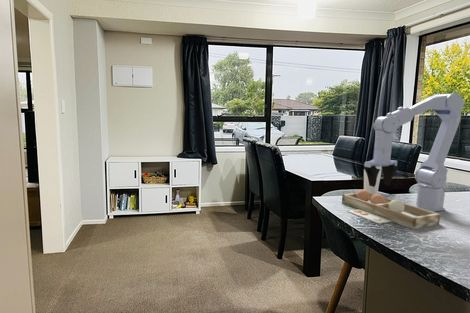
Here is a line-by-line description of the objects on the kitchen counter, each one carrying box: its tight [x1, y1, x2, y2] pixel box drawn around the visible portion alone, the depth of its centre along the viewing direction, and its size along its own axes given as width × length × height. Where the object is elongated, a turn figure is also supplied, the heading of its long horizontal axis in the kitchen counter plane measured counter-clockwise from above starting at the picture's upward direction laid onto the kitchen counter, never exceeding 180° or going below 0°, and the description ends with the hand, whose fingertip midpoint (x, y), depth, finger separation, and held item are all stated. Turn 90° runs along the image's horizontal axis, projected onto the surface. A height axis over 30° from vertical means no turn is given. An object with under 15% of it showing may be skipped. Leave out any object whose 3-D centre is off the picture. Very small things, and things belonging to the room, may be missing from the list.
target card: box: [347, 208, 393, 225], centre depth 113 cm, size 6×14×1 cm, turn 26°
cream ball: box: [389, 198, 405, 213], centre depth 114 cm, size 5×5×5 cm
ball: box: [356, 189, 370, 202], centre depth 128 cm, size 5×5×5 cm
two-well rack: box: [341, 192, 441, 230], centre depth 118 cm, size 13×31×4 cm, turn 26°
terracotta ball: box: [371, 193, 386, 204], centre depth 121 cm, size 5×5×5 cm
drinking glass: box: [363, 166, 383, 194], centre depth 138 cm, size 7×7×15 cm
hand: (379, 185), depth 121 cm, fingers open, 7 cm apart
